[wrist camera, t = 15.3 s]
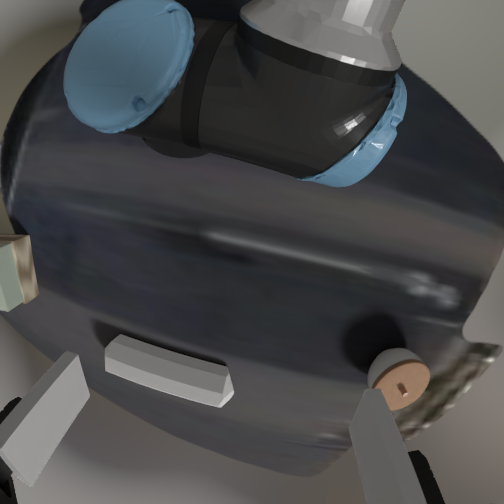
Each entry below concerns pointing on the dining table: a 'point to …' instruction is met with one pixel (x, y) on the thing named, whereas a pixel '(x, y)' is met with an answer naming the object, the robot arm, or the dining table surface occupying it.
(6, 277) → the tower top block
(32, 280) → the tower base block
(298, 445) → the dining table surface
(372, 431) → the robot arm
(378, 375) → the lidded jar
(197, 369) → the chamfered grey bar
